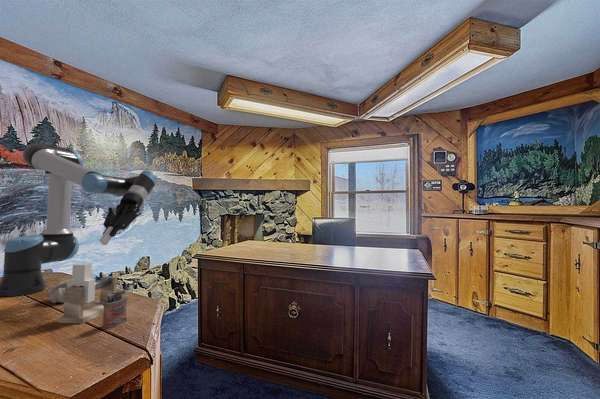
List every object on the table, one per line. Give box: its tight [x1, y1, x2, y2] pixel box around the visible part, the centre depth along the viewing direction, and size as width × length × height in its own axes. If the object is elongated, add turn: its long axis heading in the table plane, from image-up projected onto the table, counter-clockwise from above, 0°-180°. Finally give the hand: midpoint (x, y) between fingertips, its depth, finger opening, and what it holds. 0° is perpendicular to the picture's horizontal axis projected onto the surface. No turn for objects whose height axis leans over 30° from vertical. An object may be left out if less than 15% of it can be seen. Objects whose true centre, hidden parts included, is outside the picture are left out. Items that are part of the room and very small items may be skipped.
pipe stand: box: [57, 275, 118, 324], centre depth 100 cm, size 18×8×11 cm, turn 178°
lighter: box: [101, 289, 128, 330], centre depth 91 cm, size 8×3×10 cm, turn 168°
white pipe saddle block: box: [66, 262, 97, 304], centre depth 95 cm, size 3×7×12 cm, turn 88°
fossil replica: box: [45, 277, 72, 304], centre depth 113 cm, size 12×8×10 cm
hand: (102, 242), depth 105 cm, fingers closed
